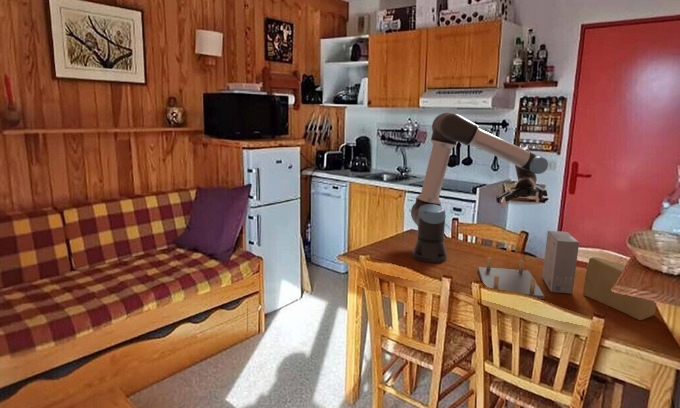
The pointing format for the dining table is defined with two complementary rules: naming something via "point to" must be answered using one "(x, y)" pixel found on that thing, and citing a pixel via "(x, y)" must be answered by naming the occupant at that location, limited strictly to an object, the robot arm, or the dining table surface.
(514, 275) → the standoff base
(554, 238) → the hard drive box
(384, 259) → the dining table surface
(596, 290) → the olive brown block
